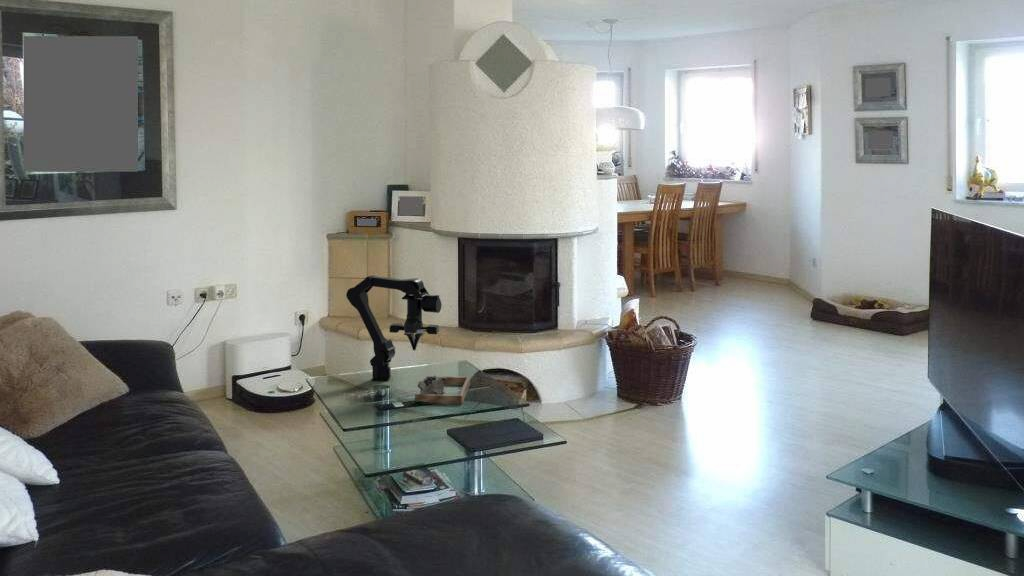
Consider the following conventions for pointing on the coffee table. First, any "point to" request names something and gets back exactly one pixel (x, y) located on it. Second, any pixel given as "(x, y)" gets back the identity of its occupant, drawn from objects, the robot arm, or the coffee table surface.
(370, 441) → the coffee table surface
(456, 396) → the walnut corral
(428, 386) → the decorative stone
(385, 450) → the coffee table surface
